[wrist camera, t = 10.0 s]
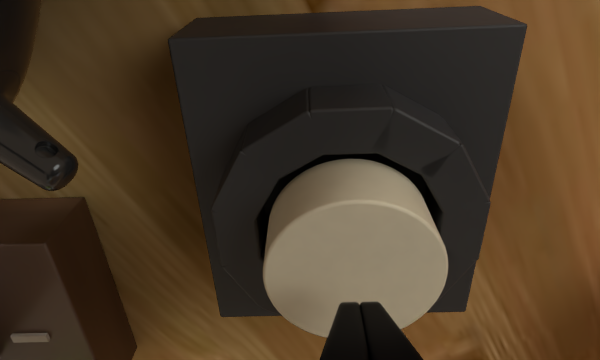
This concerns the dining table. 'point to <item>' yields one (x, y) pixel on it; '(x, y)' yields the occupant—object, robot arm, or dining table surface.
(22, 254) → the panel
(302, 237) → the round beige button
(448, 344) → the dining table surface
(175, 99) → the dining table surface
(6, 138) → the black glossy ovoid
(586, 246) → the dining table surface
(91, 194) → the dining table surface
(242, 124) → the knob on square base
